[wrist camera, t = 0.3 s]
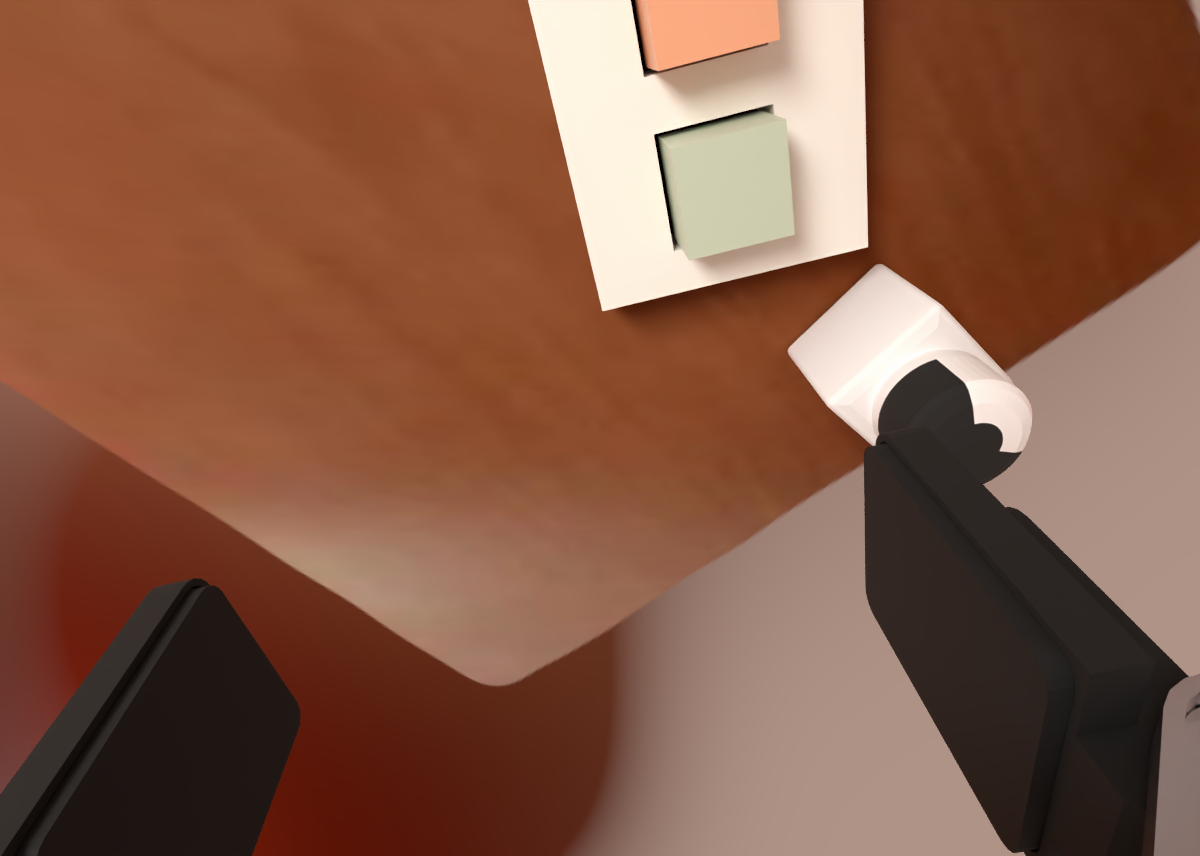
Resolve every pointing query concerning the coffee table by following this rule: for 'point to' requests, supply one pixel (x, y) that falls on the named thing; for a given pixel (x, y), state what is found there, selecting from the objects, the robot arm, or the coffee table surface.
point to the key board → (693, 95)
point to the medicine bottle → (913, 373)
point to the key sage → (728, 183)
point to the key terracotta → (702, 28)
